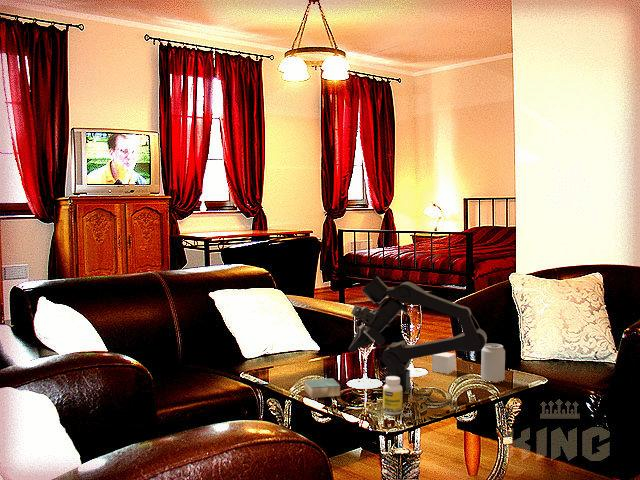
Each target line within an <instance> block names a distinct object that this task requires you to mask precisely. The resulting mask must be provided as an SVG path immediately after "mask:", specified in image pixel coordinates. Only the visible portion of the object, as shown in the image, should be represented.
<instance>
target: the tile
mask: <svg viewBox="0 0 640 480" xmlns="http://www.w3.org/2000/svg"><path fill="white" fill-rule="evenodd" d="M304 392H305V393H306V394H307V395H308V396H309V397H310V398H311V399H315V398H327V397H328V398H329V397H338V396H341V385H340V384H339V382H337V381H336V380H335V379H334V378H331V377H330V378H319V379H318V378H317V379H307V380H306V379H305V380H304Z"/></svg>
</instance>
